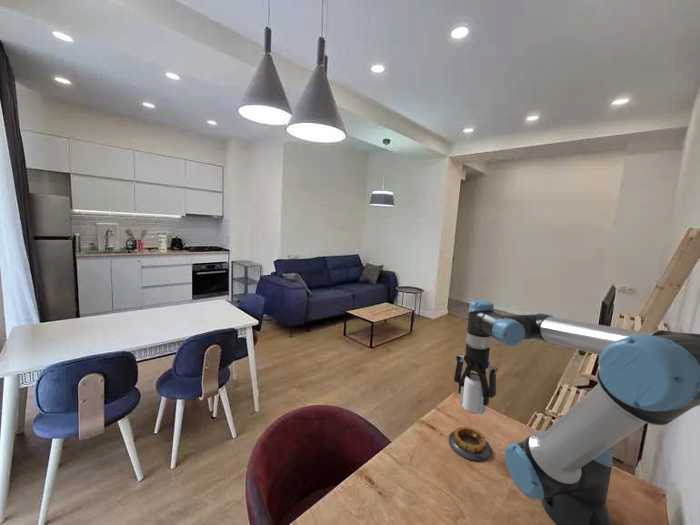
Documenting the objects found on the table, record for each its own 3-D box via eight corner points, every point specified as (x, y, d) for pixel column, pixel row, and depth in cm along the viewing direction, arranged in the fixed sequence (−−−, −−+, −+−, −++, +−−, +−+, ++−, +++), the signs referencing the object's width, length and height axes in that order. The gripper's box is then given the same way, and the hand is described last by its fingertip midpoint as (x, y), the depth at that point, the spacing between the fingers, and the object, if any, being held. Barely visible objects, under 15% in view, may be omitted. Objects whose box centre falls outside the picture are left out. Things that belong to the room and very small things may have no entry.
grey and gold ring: (497, 447, 103) (498, 438, 103) (479, 468, 94) (480, 458, 94) (460, 427, 114) (461, 418, 113) (441, 443, 105) (441, 434, 104)
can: (481, 416, 98) (485, 383, 97) (461, 410, 101) (464, 378, 99) (482, 406, 104) (485, 374, 103) (463, 401, 107) (465, 370, 105)
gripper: (512, 352, 95) (505, 417, 98) (457, 334, 109) (452, 391, 112) (503, 358, 90) (496, 426, 93) (446, 339, 104) (441, 398, 107)
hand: (472, 407), depth 102 cm, fingers closed on can, 6 cm apart
